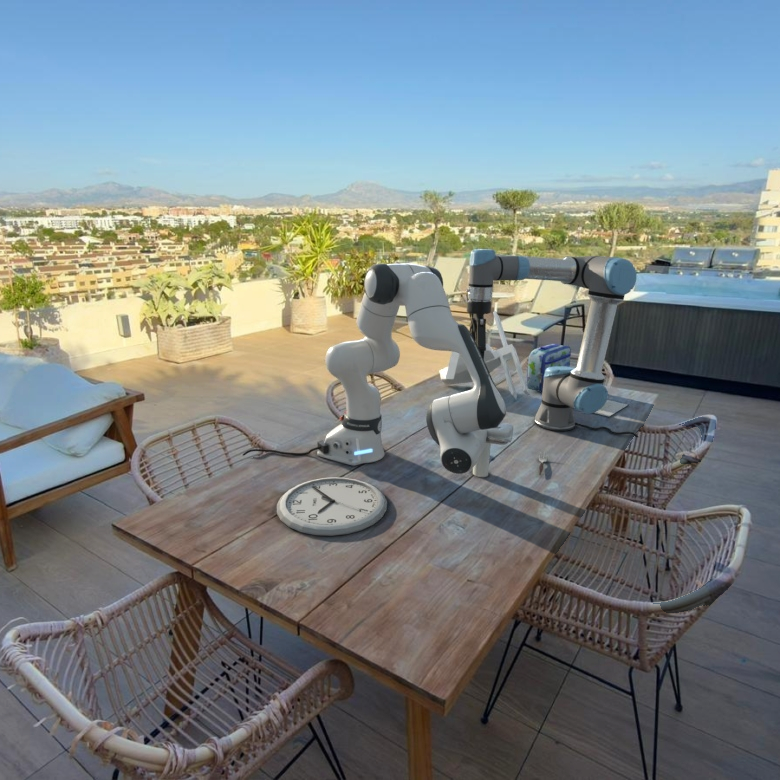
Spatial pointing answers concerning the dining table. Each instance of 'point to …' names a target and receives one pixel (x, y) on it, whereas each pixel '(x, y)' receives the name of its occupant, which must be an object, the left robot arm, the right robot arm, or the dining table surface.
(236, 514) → the dining table surface
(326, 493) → the wall clock
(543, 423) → the right robot arm
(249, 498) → the dining table surface
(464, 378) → the white plastic object
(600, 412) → the invitation card
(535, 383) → the lunch box
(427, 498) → the dining table surface
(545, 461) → the fork
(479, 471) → the white plastic cylinder
